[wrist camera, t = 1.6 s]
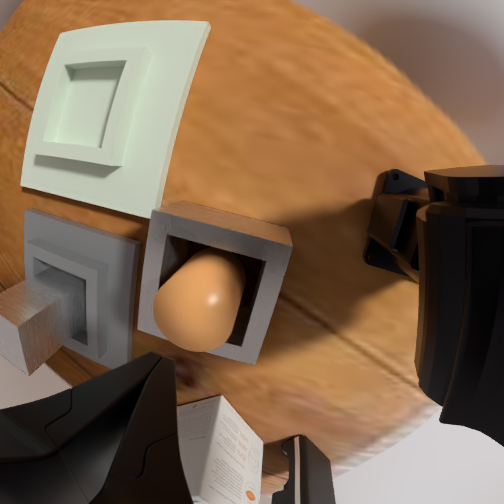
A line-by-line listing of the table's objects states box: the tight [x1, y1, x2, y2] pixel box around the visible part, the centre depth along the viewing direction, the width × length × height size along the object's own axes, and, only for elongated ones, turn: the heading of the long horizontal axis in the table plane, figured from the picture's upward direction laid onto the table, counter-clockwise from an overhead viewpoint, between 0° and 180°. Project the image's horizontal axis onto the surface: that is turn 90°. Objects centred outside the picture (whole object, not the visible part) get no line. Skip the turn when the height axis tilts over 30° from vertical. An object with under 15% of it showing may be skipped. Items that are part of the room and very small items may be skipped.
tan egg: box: [153, 247, 246, 352], centre depth 14 cm, size 4×4×5 cm
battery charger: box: [272, 436, 336, 504], centre depth 18 cm, size 7×4×11 cm, turn 33°
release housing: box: [137, 201, 293, 365], centre depth 16 cm, size 7×7×5 cm
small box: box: [177, 395, 263, 504], centre depth 18 cm, size 8×6×10 cm
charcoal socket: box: [24, 208, 141, 370], centre depth 19 cm, size 12×12×2 cm
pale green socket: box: [21, 20, 211, 219], centre depth 15 cm, size 14×14×2 cm
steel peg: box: [0, 267, 87, 376], centre depth 16 cm, size 4×4×8 cm
